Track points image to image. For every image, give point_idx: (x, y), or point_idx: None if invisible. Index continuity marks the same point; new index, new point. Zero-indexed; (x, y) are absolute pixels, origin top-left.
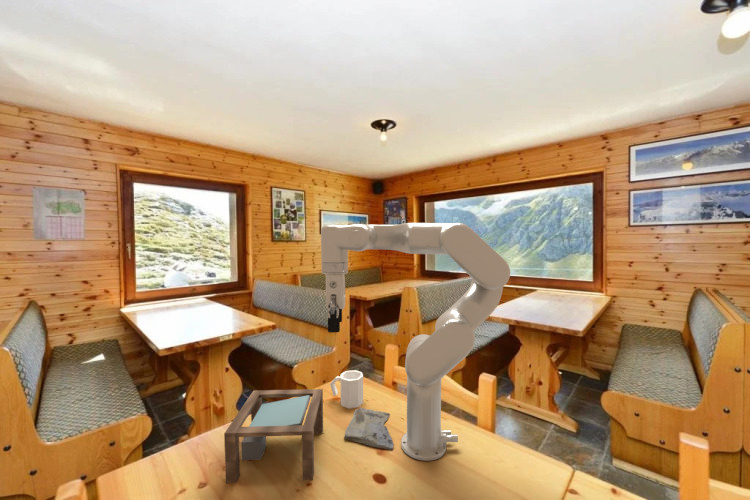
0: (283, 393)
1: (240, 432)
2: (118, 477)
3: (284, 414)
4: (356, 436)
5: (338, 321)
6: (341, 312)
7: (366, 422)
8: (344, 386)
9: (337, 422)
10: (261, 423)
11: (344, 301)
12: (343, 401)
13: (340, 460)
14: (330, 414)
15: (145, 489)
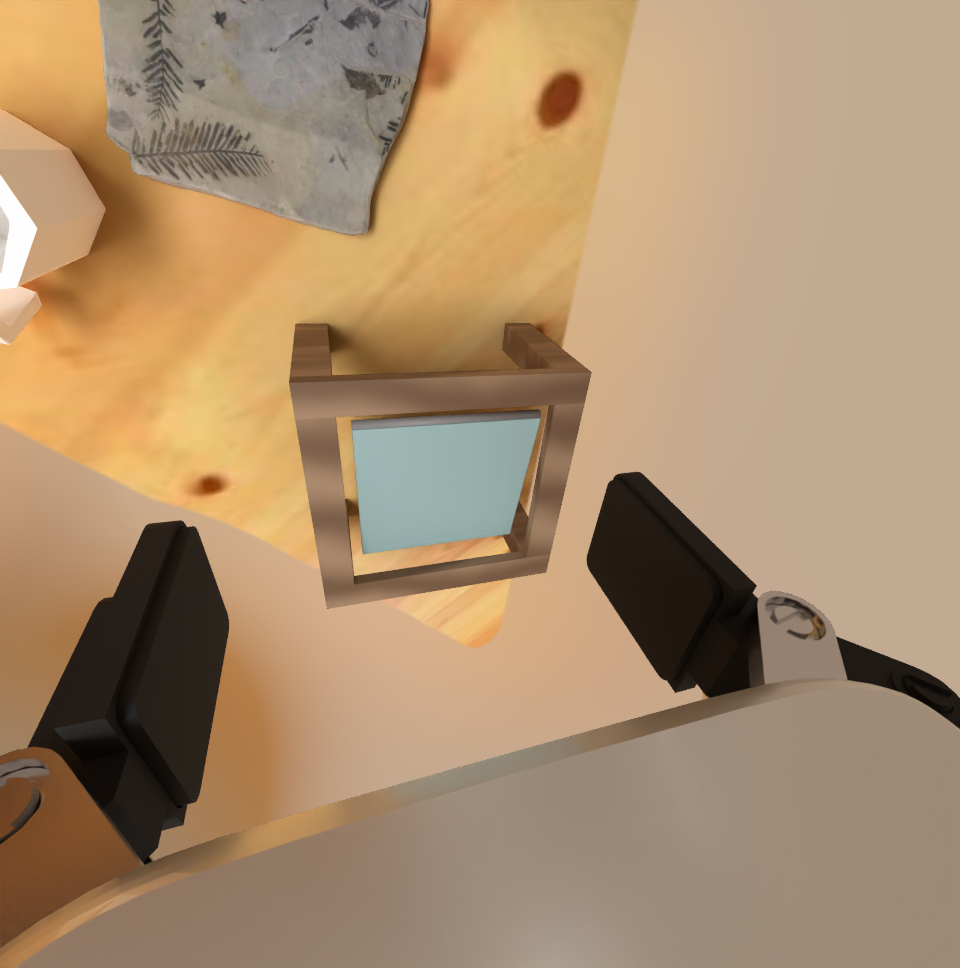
0: (342, 521)
1: (550, 544)
2: (468, 643)
3: (462, 475)
4: (375, 180)
5: (711, 558)
6: (129, 651)
7: (247, 114)
8: (47, 253)
9: (245, 267)
10: (481, 516)
11: (845, 907)
12: (83, 246)
13: (466, 246)
14: (186, 303)
15: (499, 598)
